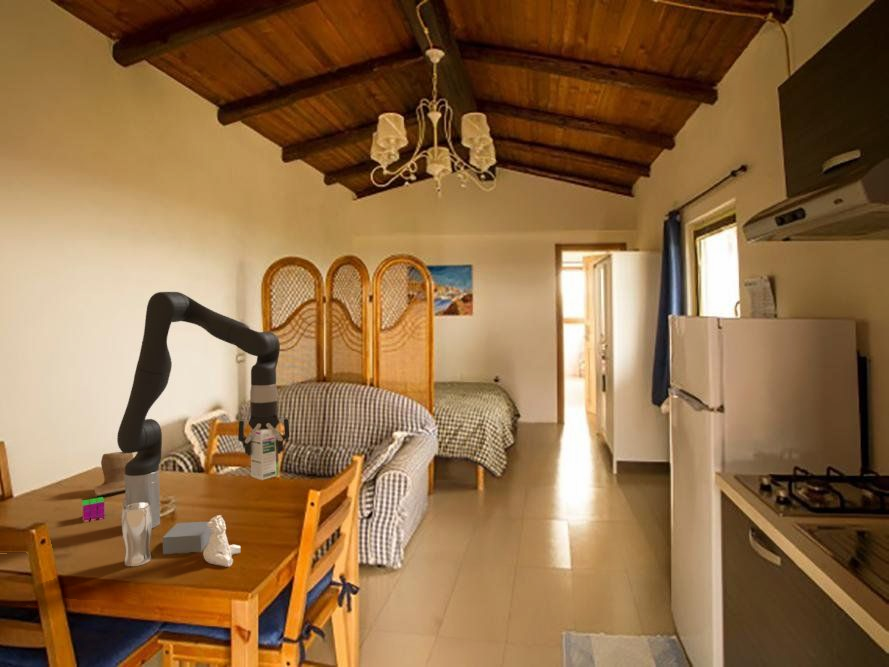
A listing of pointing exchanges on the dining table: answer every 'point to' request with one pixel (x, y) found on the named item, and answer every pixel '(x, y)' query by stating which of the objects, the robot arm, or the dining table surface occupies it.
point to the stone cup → (113, 473)
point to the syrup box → (264, 454)
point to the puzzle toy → (93, 508)
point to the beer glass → (137, 532)
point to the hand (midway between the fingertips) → (264, 454)
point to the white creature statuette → (219, 544)
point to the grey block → (186, 538)
